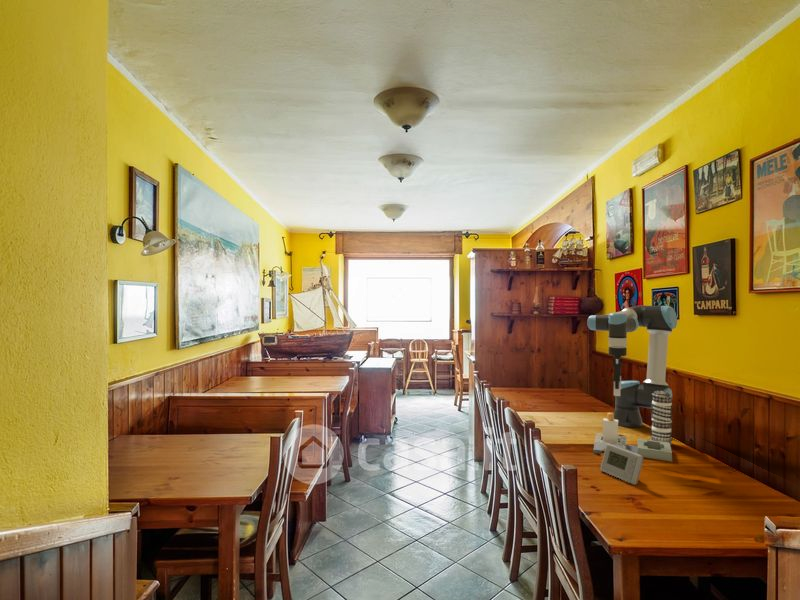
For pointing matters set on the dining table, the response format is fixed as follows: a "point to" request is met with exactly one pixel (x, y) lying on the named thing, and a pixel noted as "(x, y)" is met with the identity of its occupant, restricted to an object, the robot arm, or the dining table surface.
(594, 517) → the dining table surface
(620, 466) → the digital clock
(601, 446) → the socket
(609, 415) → the plug
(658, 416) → the decorative candle
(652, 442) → the grey-green cross cutout frame
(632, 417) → the robot arm
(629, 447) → the board
